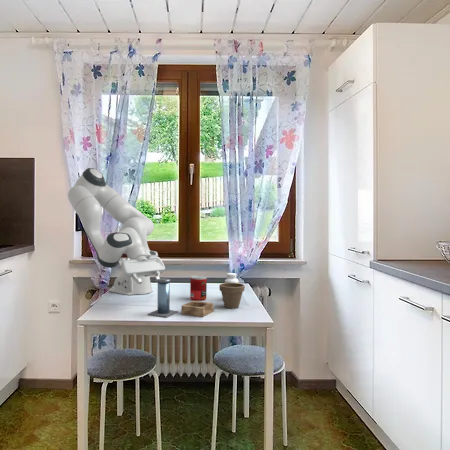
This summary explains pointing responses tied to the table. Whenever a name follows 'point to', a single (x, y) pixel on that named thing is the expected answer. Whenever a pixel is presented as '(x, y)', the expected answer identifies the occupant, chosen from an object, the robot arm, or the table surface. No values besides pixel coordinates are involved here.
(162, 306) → the plunger
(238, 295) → the flower pot
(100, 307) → the table surface
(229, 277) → the supplement bottle
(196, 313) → the bore block
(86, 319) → the table surface
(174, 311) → the mat
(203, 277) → the canned food
